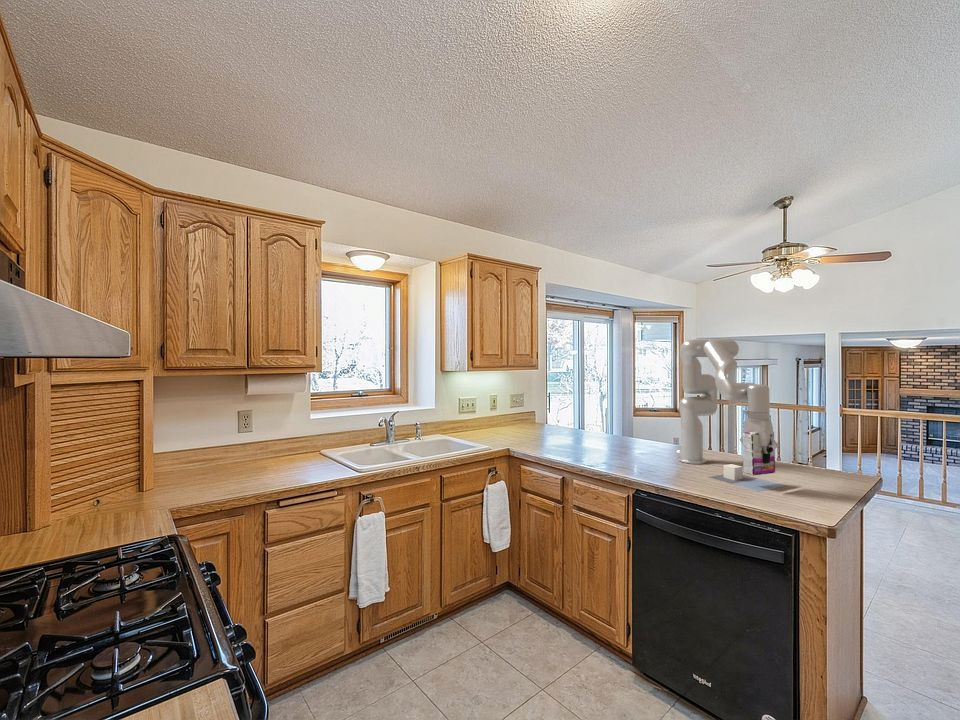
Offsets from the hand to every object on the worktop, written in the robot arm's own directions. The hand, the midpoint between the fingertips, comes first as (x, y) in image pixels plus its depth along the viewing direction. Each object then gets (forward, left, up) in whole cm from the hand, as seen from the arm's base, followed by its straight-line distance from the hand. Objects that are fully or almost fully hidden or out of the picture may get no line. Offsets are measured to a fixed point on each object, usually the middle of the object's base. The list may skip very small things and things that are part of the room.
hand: (758, 461), depth 179 cm
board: (-6, 0, -10) cm, 12 cm away
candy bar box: (0, 0, -5) cm, 5 cm away
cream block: (-11, 0, -9) cm, 15 cm away
